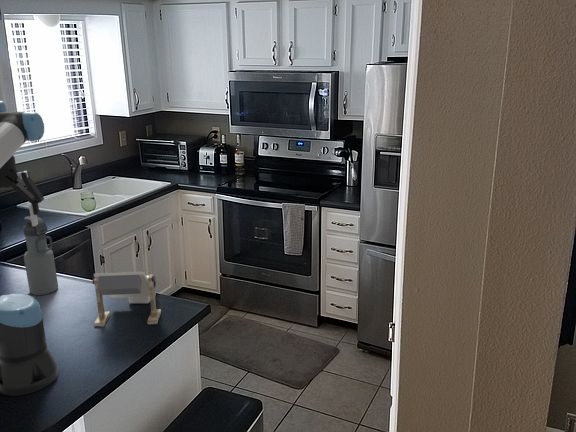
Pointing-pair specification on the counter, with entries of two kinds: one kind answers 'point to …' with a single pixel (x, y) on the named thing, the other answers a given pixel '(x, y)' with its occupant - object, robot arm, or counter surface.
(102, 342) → the counter surface
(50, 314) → the counter surface
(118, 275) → the trapdoor flap
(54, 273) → the water bottle
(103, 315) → the flap stand
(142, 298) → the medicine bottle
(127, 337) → the counter surface
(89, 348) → the counter surface
